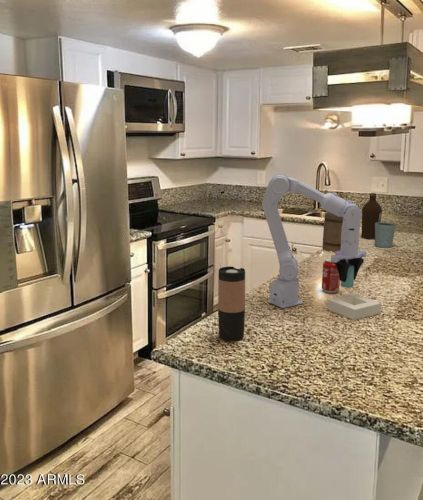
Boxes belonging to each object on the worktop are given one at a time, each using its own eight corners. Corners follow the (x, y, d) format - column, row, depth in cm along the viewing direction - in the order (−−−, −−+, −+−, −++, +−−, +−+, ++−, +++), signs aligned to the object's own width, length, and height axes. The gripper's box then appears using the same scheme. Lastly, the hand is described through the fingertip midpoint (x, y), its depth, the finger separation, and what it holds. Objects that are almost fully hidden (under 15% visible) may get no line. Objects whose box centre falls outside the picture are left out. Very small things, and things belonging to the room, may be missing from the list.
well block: (354, 320, 158) (354, 309, 157) (326, 309, 168) (327, 299, 167) (380, 313, 164) (381, 303, 163) (352, 303, 174) (353, 293, 173)
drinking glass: (370, 244, 265) (371, 222, 262) (387, 244, 267) (389, 221, 264) (379, 248, 255) (381, 225, 253) (397, 248, 257) (399, 225, 254)
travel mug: (222, 343, 141) (222, 274, 136) (214, 333, 148) (214, 267, 143) (248, 340, 143) (249, 272, 138) (239, 330, 150) (240, 265, 145)
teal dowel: (347, 288, 167) (347, 268, 166) (338, 285, 171) (339, 265, 169) (355, 286, 169) (356, 266, 168) (347, 283, 173) (348, 264, 171)
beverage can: (326, 287, 191) (328, 257, 189) (341, 290, 187) (343, 259, 185) (318, 291, 186) (320, 260, 184) (334, 294, 183) (336, 262, 180)
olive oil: (360, 239, 279) (363, 194, 273) (359, 235, 289) (362, 192, 283) (380, 240, 276) (383, 194, 271) (379, 236, 286) (382, 192, 281)
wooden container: (358, 251, 250) (361, 207, 245) (331, 253, 246) (333, 208, 241) (343, 245, 264) (345, 203, 259) (317, 247, 260) (319, 204, 255)
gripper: (343, 245, 159) (341, 286, 162) (374, 240, 167) (371, 279, 170) (327, 241, 165) (325, 281, 168) (358, 236, 173) (355, 274, 176)
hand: (347, 280), depth 169 cm, fingers closed on teal dowel, 4 cm apart
